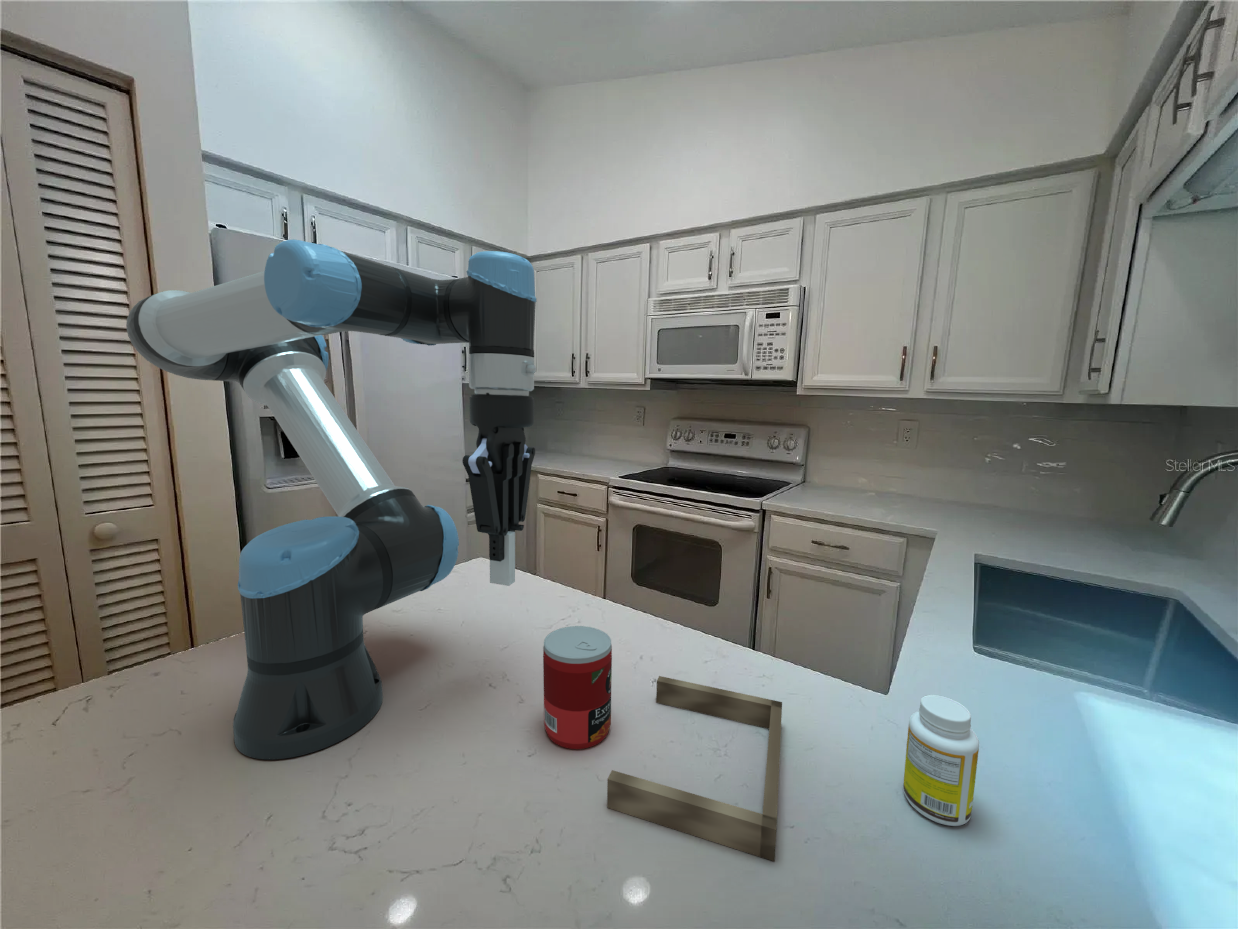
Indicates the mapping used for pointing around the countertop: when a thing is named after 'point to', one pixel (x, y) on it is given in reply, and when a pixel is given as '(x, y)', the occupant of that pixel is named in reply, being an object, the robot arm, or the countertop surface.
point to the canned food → (577, 686)
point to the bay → (698, 811)
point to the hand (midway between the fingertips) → (502, 582)
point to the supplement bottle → (941, 761)
